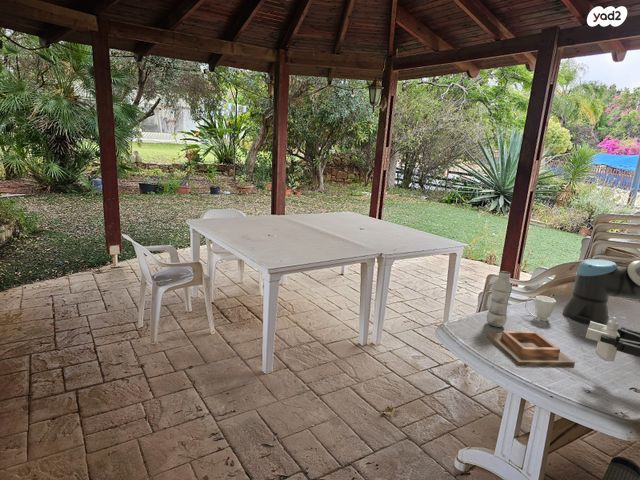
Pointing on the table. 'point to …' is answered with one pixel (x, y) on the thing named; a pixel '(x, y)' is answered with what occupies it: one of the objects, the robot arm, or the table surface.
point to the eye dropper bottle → (607, 350)
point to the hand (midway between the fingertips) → (588, 329)
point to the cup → (543, 307)
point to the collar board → (529, 349)
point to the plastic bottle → (499, 300)
